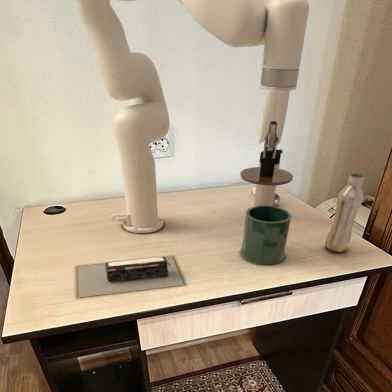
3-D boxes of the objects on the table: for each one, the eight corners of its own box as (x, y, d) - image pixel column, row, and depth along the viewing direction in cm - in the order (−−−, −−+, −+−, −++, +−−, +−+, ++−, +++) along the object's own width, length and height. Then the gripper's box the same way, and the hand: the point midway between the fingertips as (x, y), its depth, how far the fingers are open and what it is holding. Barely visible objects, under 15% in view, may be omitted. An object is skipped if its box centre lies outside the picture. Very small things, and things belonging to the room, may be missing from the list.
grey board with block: (183, 284, 89) (183, 269, 86) (78, 297, 84) (74, 281, 81) (172, 257, 99) (171, 242, 96) (77, 266, 94) (74, 251, 91)
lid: (249, 189, 83) (252, 162, 79) (233, 173, 92) (235, 148, 88) (300, 186, 85) (306, 159, 81) (279, 170, 94) (283, 146, 90)
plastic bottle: (347, 246, 106) (370, 173, 93) (346, 256, 101) (370, 181, 88) (324, 242, 108) (344, 170, 94) (322, 252, 103) (343, 177, 90)
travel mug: (273, 220, 119) (284, 152, 106) (253, 219, 119) (261, 152, 106) (270, 212, 124) (281, 147, 111) (251, 212, 124) (259, 146, 111)
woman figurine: (260, 196, 122) (240, 183, 136) (259, 210, 125) (240, 196, 139) (291, 194, 125) (269, 181, 139) (289, 207, 128) (267, 193, 141)
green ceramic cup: (249, 267, 96) (255, 224, 88) (236, 247, 104) (240, 207, 97) (290, 262, 98) (299, 221, 90) (273, 243, 106) (280, 204, 99)
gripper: (262, 75, 82) (252, 164, 94) (259, 83, 70) (248, 184, 82) (296, 76, 81) (282, 166, 93) (298, 85, 69) (282, 186, 81)
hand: (266, 173), depth 87 cm, fingers closed on lid, 2 cm apart
